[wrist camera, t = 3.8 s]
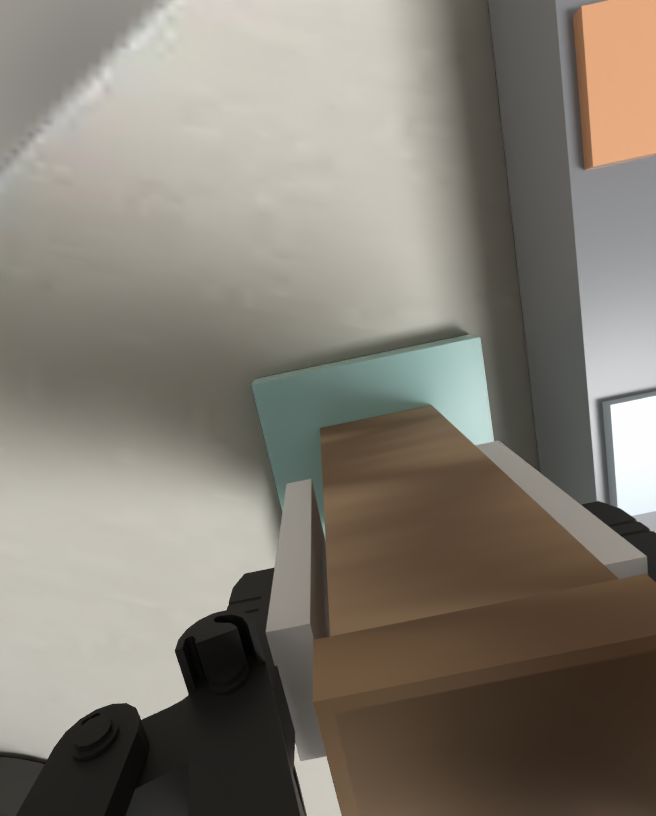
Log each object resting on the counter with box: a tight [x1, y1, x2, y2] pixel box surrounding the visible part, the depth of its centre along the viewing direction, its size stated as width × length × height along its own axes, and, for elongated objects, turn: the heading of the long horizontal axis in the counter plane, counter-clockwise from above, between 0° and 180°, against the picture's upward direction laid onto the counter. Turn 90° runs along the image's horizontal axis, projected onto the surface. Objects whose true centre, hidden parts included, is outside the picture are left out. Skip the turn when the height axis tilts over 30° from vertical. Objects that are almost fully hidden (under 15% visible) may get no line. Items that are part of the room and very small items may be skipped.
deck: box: [251, 334, 494, 541], centre depth 18 cm, size 8×8×1 cm
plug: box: [313, 405, 656, 816], centre depth 12 cm, size 4×4×12 cm
